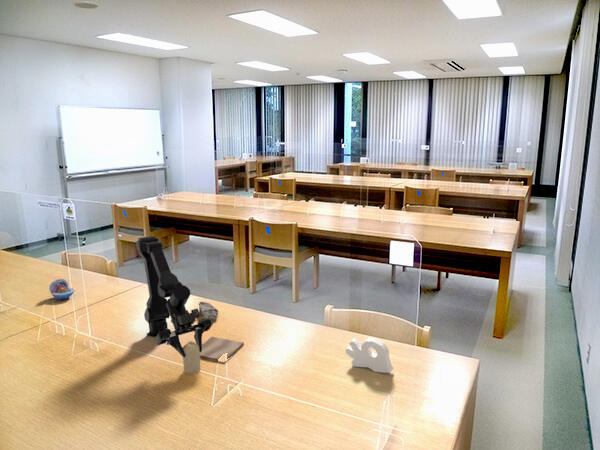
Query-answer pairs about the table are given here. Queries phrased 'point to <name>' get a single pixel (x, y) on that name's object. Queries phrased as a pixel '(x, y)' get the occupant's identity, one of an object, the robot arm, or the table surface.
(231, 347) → the walnut slab
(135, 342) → the table surface
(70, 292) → the cell model
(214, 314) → the mineral rock
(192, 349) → the candle
